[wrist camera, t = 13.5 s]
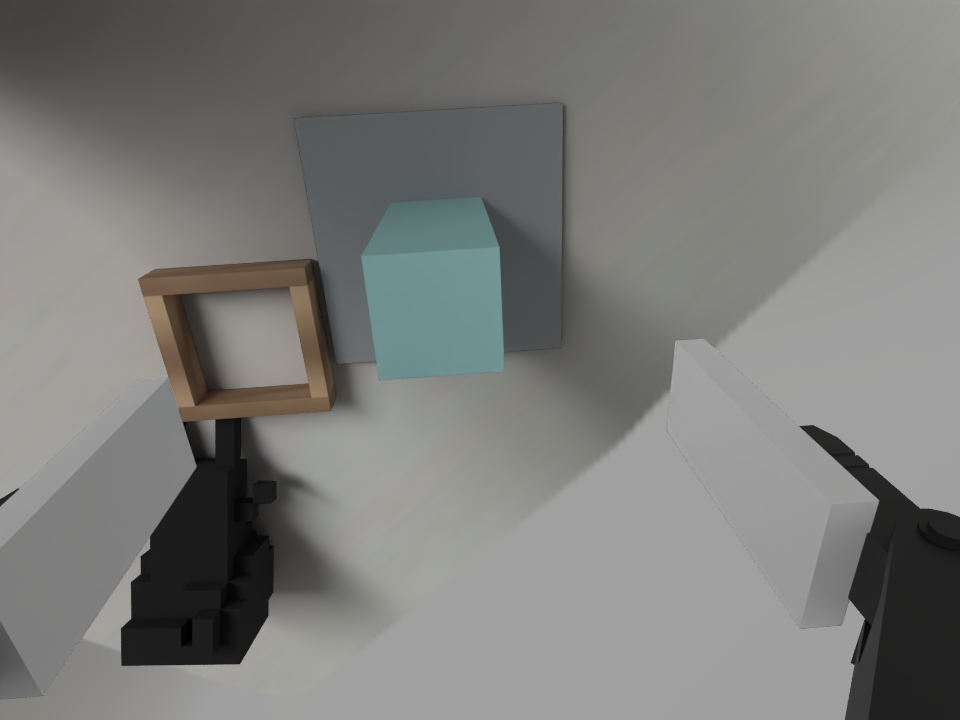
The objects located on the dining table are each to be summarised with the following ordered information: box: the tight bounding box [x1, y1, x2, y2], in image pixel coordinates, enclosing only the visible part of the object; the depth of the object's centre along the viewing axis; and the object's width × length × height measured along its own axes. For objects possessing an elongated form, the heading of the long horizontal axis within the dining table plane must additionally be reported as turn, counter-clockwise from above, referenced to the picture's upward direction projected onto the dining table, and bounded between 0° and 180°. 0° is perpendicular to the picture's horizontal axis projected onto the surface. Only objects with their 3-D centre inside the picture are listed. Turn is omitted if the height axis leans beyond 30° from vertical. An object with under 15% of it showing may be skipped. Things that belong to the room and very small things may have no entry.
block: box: [361, 197, 504, 380], centre depth 27 cm, size 5×5×12 cm
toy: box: [121, 412, 277, 666], centre depth 37 cm, size 9×8×15 cm
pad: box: [294, 103, 563, 364], centre depth 33 cm, size 14×14×1 cm
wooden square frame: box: [138, 259, 336, 422], centre depth 34 cm, size 9×9×2 cm
